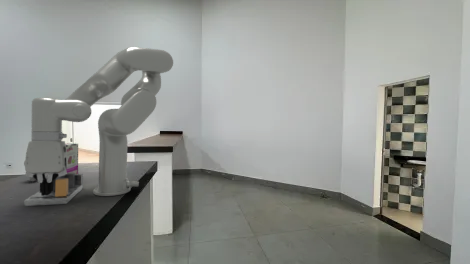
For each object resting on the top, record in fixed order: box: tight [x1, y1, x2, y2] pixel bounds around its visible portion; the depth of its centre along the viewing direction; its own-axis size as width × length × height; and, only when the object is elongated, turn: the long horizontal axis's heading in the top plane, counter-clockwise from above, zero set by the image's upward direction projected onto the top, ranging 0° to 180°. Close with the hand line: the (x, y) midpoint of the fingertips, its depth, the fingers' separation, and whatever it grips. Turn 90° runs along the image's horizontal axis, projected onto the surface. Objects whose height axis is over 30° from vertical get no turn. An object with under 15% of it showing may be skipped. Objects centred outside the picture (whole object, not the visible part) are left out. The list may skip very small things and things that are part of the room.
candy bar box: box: [65, 142, 79, 174], centre depth 99 cm, size 11×5×16 cm, turn 179°
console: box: [24, 173, 84, 207], centre depth 82 cm, size 11×18×7 cm, turn 19°
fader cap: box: [55, 178, 68, 197], centre depth 77 cm, size 3×2×5 cm
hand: (46, 194), depth 76 cm, fingers closed
